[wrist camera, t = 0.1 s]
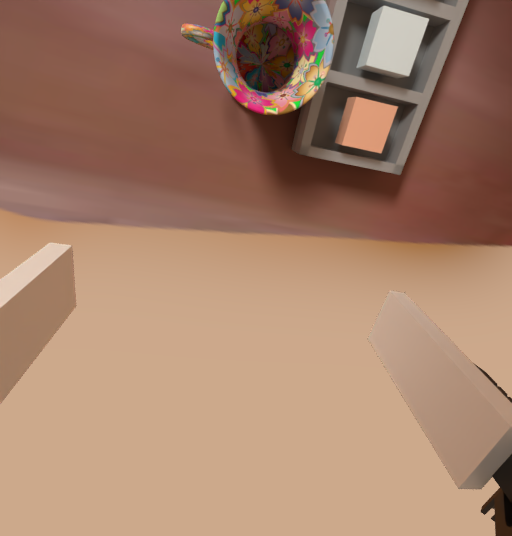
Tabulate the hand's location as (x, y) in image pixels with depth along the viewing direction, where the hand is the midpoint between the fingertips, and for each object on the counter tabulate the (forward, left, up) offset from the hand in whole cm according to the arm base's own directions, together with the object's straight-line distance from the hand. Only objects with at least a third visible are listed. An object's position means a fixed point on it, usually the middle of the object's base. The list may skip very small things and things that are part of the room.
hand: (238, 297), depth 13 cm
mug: (-12, 0, -28) cm, 30 cm away
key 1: (-8, +12, -24) cm, 29 cm away
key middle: (-15, +13, -24) cm, 31 cm away
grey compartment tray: (-15, +13, -28) cm, 34 cm away
